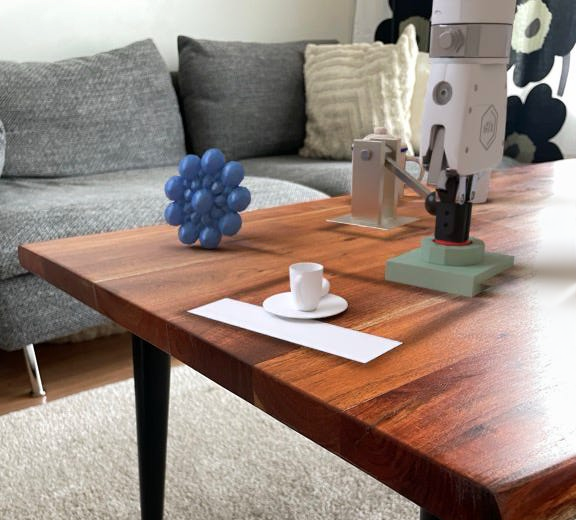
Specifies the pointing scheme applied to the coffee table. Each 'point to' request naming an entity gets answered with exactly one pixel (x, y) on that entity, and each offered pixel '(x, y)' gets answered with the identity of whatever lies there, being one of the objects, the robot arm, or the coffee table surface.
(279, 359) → the coffee table surface
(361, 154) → the switch bracket
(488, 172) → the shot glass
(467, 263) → the green button base
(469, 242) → the button
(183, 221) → the blue beaded flower wheel
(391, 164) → the switch lever
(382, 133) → the teacup with lid
